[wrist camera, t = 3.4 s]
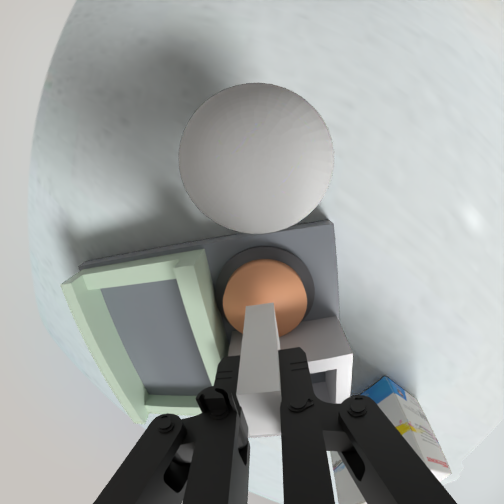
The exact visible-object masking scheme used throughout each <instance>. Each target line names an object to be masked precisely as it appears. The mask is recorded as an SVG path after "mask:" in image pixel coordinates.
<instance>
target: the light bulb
mask: <svg viewBox="0 0 504 504" xmlns="http://www.w3.org/2000/svg"><path fill="white" fill-rule="evenodd" d="M333 168H334V149H333V143H332V139H331V136H330V133H329V130H328V128H327V126H326V124H325V122H324V121H323V119H322V117H321V116H320V115H319V113H318V112H317V111H316V109H315V108H314V107H313V106H312V105H311V104H309V103H308V102H307V101H306V100H305V99H303V98H302V97H301V96H299V95H298V94H296V93H294V92H292V91H290V90H288V89H286V88H283V87H280V86H276V85H273V84H265V83H246V84H241V85H236V86H233V87H230V88H227V89H224V90H222V91H220V92H219V93H217V94H215V95H213V96H212V97H210V98H209V99H208V100H207V101H205V102H204V103H203V104H202V105H201V106H200V107H199V108H198V109H197V110H196V111H195V113H194V114H193V115H192V117H191V118H190V120H189V121H188V123H187V126H186V128H185V130H184V132H183V135H182V139H181V142H180V148H179V169H180V174H181V178H182V181H183V184H184V187H185V189H186V191H187V193H188V195H189V196H190V198H191V200H192V201H193V202H194V204H195V205H196V206H197V207H198V209H199V210H201V211H202V212H203V213H204V214H205V215H206V216H207V217H208V218H210V219H211V220H213V221H214V222H216V223H217V224H219V225H221V226H224V227H226V228H228V229H231V230H234V231H238V232H243V233H250V234H264V233H270V232H276V231H279V230H282V229H285V228H288V227H290V226H292V225H294V224H296V223H298V222H299V221H301V220H302V219H303V218H305V217H306V216H308V215H309V214H310V213H311V212H312V211H313V210H314V209H315V208H316V207H317V205H318V204H319V202H320V201H321V200H322V198H323V197H324V195H325V193H326V191H327V189H328V187H329V184H330V181H331V178H332V174H333Z"/></svg>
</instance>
